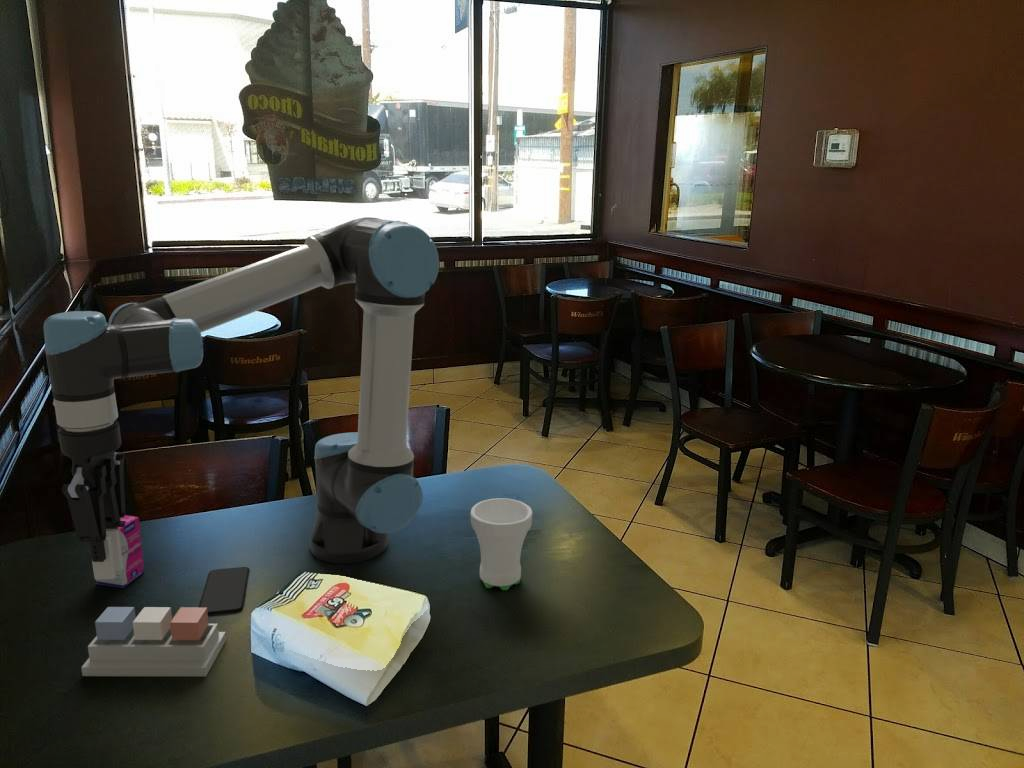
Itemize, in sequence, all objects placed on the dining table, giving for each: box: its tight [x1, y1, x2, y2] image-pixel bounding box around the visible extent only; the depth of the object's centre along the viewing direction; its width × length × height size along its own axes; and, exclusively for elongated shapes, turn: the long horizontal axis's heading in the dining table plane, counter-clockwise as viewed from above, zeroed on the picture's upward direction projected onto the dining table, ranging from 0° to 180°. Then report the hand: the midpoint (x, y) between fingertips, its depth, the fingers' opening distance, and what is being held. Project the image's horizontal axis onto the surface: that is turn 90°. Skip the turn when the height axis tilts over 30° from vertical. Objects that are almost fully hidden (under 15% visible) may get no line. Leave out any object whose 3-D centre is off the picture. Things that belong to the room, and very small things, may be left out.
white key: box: [133, 606, 173, 640], centre depth 115 cm, size 4×4×3 cm
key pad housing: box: [80, 623, 227, 678], centre depth 116 cm, size 18×9×4 cm, turn 92°
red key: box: [170, 606, 210, 640], centre depth 115 cm, size 4×4×3 cm
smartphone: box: [198, 566, 250, 616], centre depth 135 cm, size 7×1×15 cm
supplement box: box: [95, 514, 145, 589], centre depth 137 cm, size 6×6×12 cm
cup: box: [470, 497, 533, 591], centre depth 139 cm, size 11×11×14 cm
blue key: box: [94, 606, 137, 640], centre depth 115 cm, size 4×4×3 cm
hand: (109, 573), depth 113 cm, fingers open, 2 cm apart
